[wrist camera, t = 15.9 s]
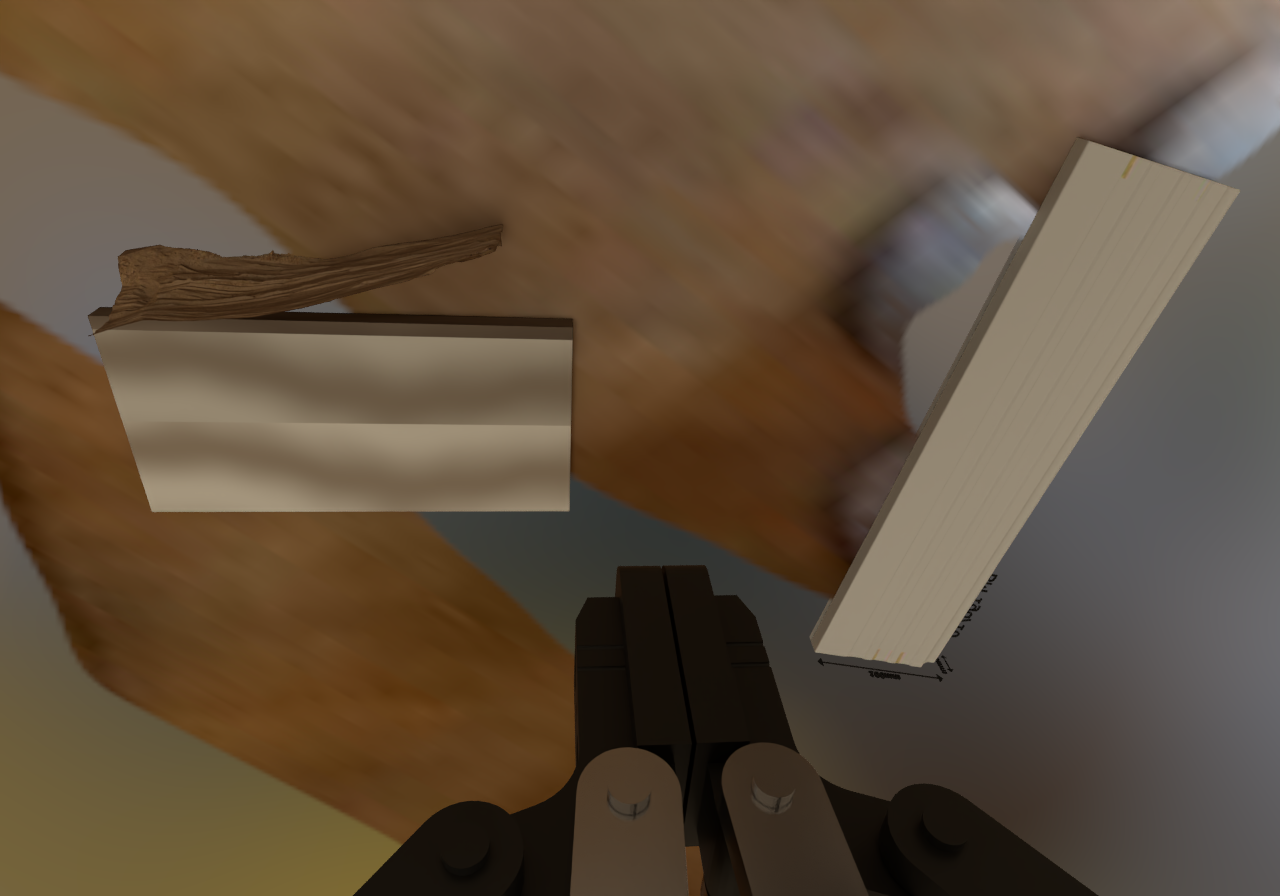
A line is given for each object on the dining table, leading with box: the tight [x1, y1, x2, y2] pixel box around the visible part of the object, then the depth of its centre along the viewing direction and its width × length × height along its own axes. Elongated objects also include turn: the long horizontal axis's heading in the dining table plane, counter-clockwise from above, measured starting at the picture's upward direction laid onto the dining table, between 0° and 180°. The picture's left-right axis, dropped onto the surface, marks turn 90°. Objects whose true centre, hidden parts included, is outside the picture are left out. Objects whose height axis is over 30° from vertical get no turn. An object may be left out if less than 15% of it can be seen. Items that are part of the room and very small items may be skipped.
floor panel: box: [88, 307, 573, 512], centre depth 36 cm, size 10×20×1 cm, turn 87°
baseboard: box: [810, 137, 1240, 682], centre depth 40 cm, size 30×3×10 cm
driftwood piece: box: [89, 224, 503, 336], centre depth 30 cm, size 15×2×5 cm, turn 98°
